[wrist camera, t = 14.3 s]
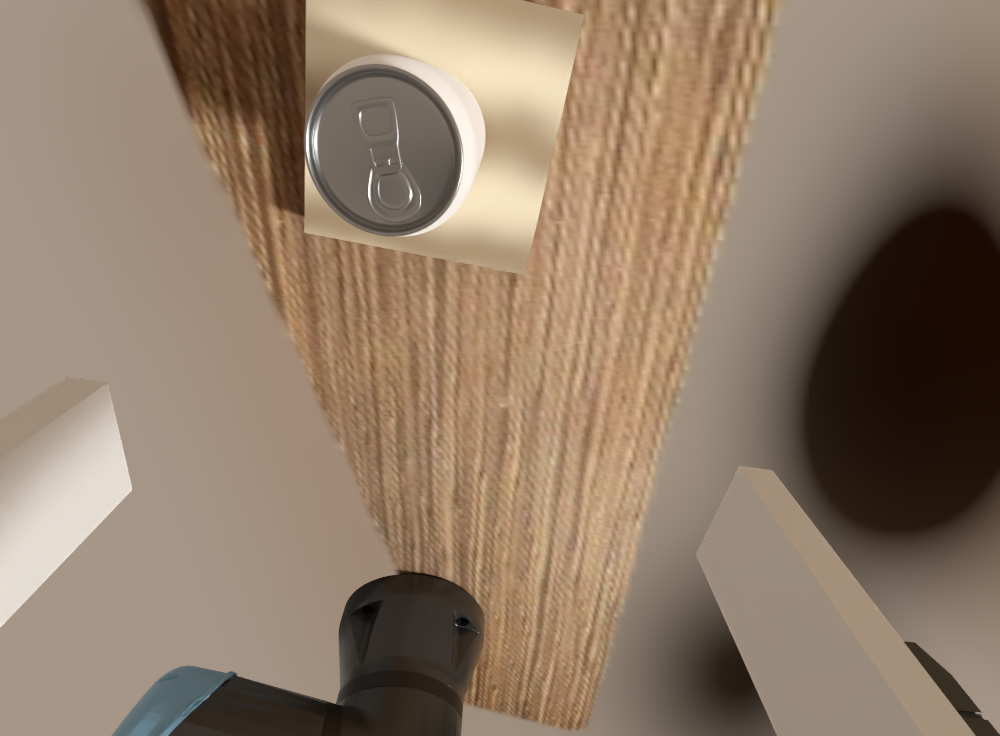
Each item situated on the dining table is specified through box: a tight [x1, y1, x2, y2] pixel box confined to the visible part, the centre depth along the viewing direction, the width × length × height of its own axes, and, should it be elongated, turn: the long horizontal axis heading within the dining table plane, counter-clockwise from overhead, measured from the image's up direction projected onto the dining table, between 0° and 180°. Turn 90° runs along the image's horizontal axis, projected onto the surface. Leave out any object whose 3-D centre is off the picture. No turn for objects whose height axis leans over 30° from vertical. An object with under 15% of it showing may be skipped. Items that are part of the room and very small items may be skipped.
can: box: [304, 53, 486, 237], centre depth 23 cm, size 6×6×12 cm
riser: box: [304, 0, 584, 275], centre depth 29 cm, size 14×14×3 cm
